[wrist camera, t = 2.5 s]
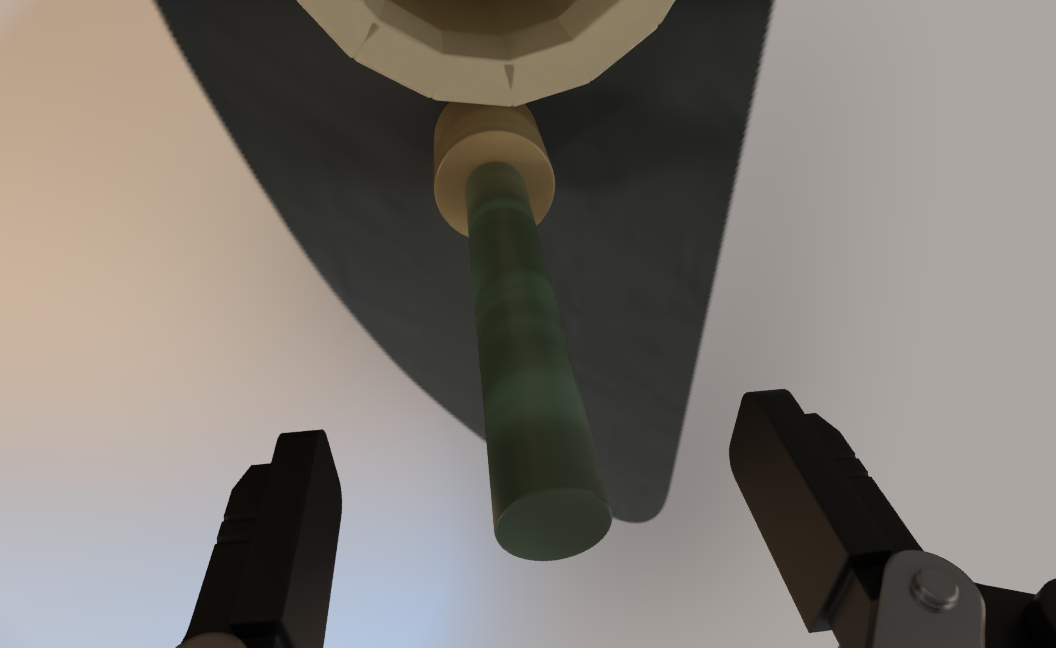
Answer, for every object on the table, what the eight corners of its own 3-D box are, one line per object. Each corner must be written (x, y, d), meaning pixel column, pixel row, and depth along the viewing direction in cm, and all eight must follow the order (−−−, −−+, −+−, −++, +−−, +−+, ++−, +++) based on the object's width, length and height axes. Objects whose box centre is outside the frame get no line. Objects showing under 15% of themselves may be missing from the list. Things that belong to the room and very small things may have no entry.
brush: (462, 66, 23) (505, 415, 9) (557, 117, 24) (719, 483, 10) (417, 161, 25) (394, 570, 11) (507, 202, 26) (588, 608, 12)
